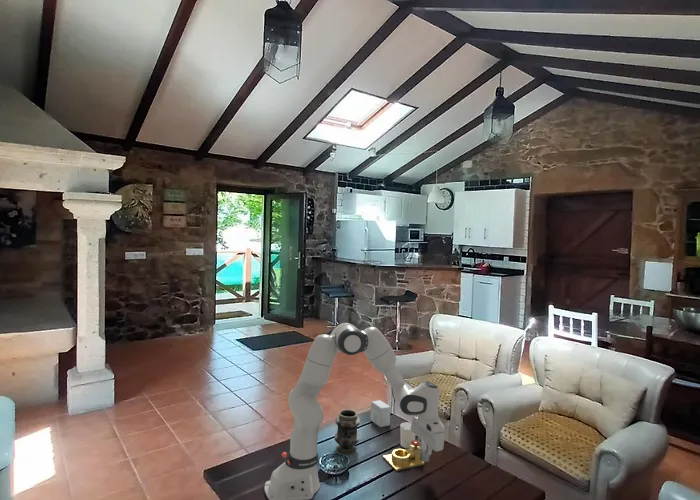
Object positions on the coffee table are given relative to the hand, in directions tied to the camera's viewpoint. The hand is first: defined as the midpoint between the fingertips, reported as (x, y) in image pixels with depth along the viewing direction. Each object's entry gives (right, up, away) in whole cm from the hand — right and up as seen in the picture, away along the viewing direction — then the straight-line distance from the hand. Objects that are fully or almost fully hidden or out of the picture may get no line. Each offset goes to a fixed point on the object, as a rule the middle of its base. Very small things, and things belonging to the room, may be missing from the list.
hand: (425, 451), depth 191 cm
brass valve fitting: (-7, -11, +13) cm, 18 cm away
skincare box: (-16, -8, +52) cm, 55 cm away
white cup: (-4, -10, +28) cm, 30 cm away
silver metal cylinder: (0, -4, 0) cm, 4 cm away
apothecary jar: (-34, -9, +22) cm, 42 cm away
